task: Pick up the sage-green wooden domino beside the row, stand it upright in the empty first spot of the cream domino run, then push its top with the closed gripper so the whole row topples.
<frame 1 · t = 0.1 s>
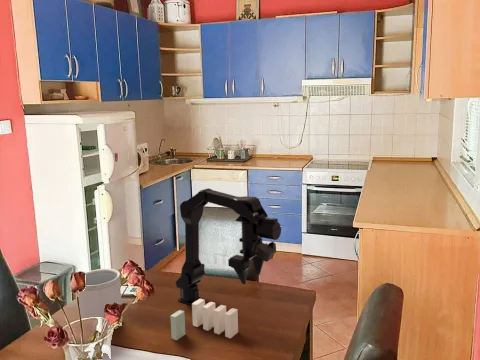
hand: (251, 279, 148), 15 cm above the table, tool pointing down, fingers open, 9 cm apart
cream domino 5: (231, 334, 141), on the table
cream domino 3: (209, 327, 146), on the table
cream domino 2: (199, 323, 149), on the table
cream domino 4: (220, 330, 144), on the table
utensil holder: (101, 325, 150), on the table
sage domino: (178, 336, 141), on the table
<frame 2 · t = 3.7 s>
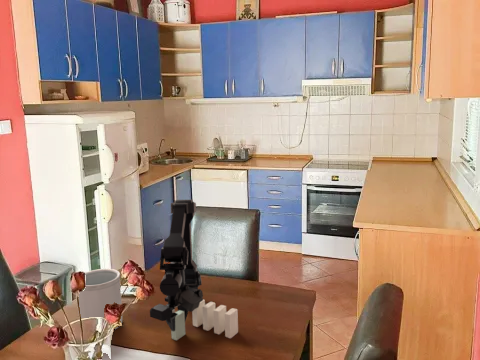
hand: (178, 327, 140), 3 cm above the table, tool pointing down, fingers closed on sage domino, 4 cm apart
sage domino: (178, 336, 141), on the table, touching gripper
everything else where it was.
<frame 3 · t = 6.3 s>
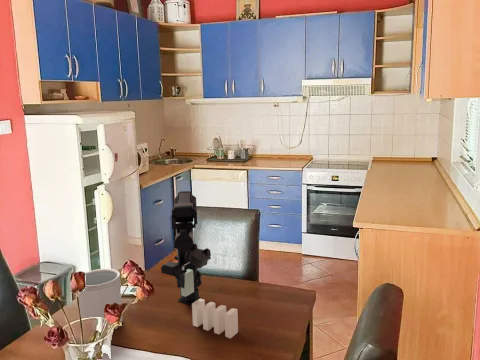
hand: (187, 285, 149), 13 cm above the table, tool pointing down, fingers closed on sage domino, 4 cm apart
sage domino: (187, 293, 149), point 10 cm above the table, touching gripper
everything else where it was.
when the fingers open (4 cm above the table, at t = 9.2 s): sage domino stays where it is, on the table.
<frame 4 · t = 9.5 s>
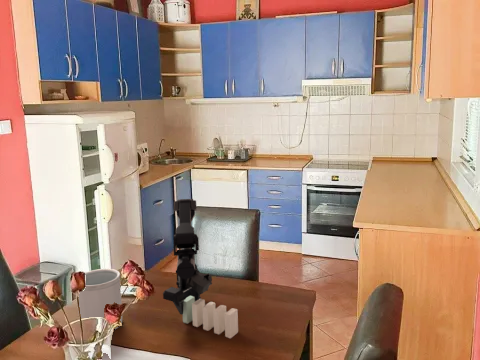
hand: (188, 309, 150), 4 cm above the table, tool pointing down, fingers open, 7 cm apart
sage domino: (189, 320, 151), on the table
everything else where it was.
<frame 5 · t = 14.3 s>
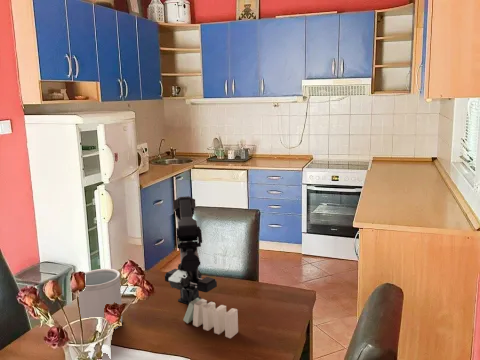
hand: (191, 303, 149), 7 cm above the table, tool pointing down, fingers closed
cream domino 2: (199, 323, 149), on the table, tilted 7°
sage domino: (189, 319, 151), on the table, tilted 24°
everything else where it was.
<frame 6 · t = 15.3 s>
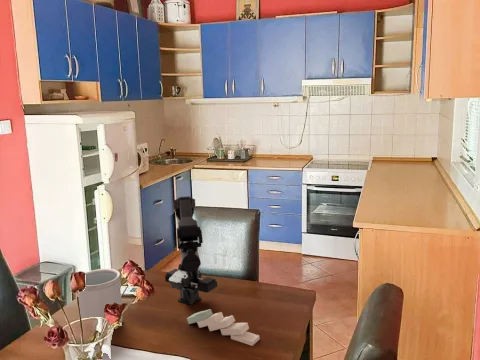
hand: (191, 303, 149), 6 cm above the table, tool pointing down, fingers closed
cream domino 5: (234, 334, 141), on the table, tilted 89°
cream domino 3: (212, 325, 145), point 1 cm above the table, tilted 64°, touching cream domino 2
cream domino 2: (202, 322, 148), point 1 cm above the table, tilted 63°, touching cream domino 3
cream domino 4: (225, 329, 143), point 1 cm above the table, tilted 72°
sage domino: (191, 318, 150), point 1 cm above the table, tilted 64°
everything else where it was.
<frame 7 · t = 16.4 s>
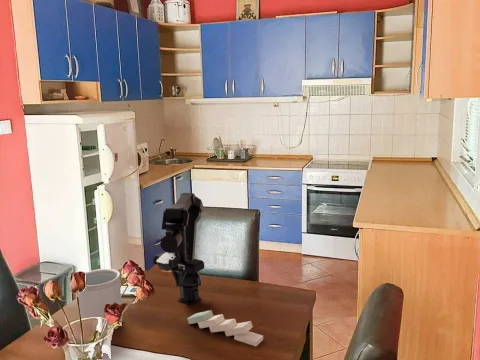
hand: (179, 285, 151), 12 cm above the table, tool pointing down, fingers closed
cream domino 5: (238, 334, 140), on the table, tilted 90°
cream domino 3: (214, 326, 145), point 1 cm above the table, tilted 68°, touching cream domino 2, cream domino 4
cream domino 4: (229, 330, 142), point 1 cm above the table, tilted 66°, touching cream domino 3
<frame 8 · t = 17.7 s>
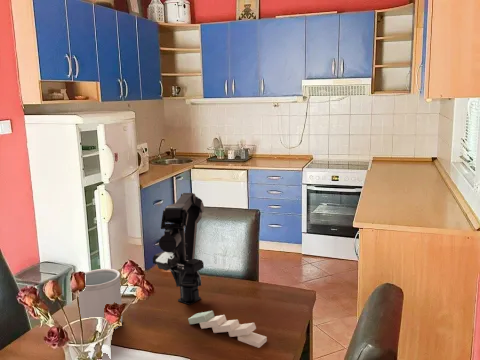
hand: (178, 285, 151), 12 cm above the table, tool pointing down, fingers closed
cream domino 5: (241, 335, 139), on the table, tilted 90°, touching cream domino 4
cream domino 2: (204, 323, 147), point 1 cm above the table, tilted 67°, touching cream domino 3, sage domino
cream domino 4: (233, 331, 141), point 1 cm above the table, tilted 66°, touching cream domino 3, cream domino 5
sage domino: (193, 318, 150), point 1 cm above the table, tilted 67°, touching cream domino 2
at the end: cream domino 5 tilted 90°; sage domino tilted 67°; sage domino inside the target area (0.8 cm from its centre), point 0.9 cm above the table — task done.
